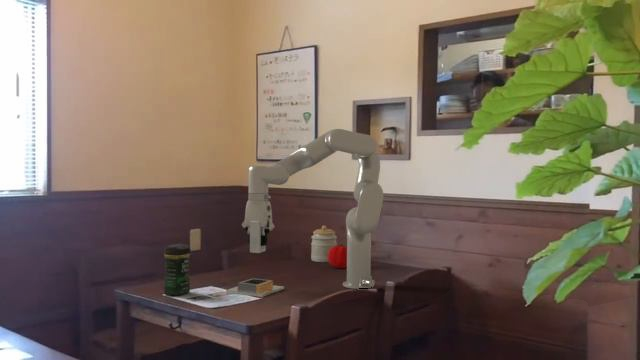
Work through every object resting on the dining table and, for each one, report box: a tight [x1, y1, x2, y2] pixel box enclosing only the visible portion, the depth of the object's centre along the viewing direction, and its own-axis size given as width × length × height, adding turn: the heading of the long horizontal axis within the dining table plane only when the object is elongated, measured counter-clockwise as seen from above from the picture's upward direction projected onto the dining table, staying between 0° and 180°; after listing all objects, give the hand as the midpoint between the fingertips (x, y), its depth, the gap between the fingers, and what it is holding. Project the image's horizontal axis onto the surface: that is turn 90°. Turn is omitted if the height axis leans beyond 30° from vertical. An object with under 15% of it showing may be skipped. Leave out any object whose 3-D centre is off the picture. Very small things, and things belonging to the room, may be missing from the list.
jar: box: [310, 225, 338, 263], centre depth 306 cm, size 13×13×18 cm
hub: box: [225, 277, 285, 298], centre depth 234 cm, size 16×16×4 cm
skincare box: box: [249, 221, 267, 254], centre depth 235 cm, size 6×4×12 cm
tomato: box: [328, 244, 347, 269], centre depth 286 cm, size 12×12×11 cm
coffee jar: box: [163, 243, 191, 296], centre depth 228 cm, size 10×8×19 cm
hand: (257, 244), depth 235 cm, fingers closed on skincare box, 4 cm apart
